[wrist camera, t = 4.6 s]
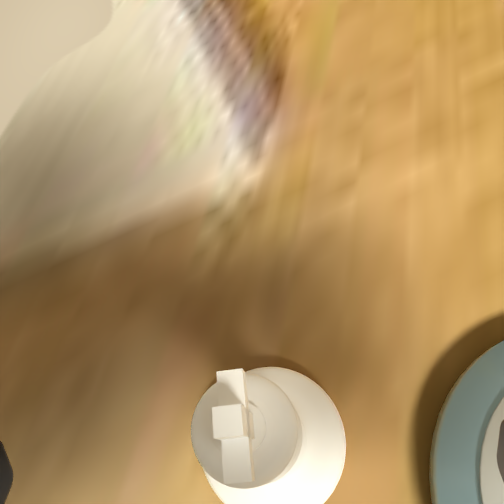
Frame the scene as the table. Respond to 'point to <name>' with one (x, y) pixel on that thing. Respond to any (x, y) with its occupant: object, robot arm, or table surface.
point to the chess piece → (268, 438)
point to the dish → (470, 435)
